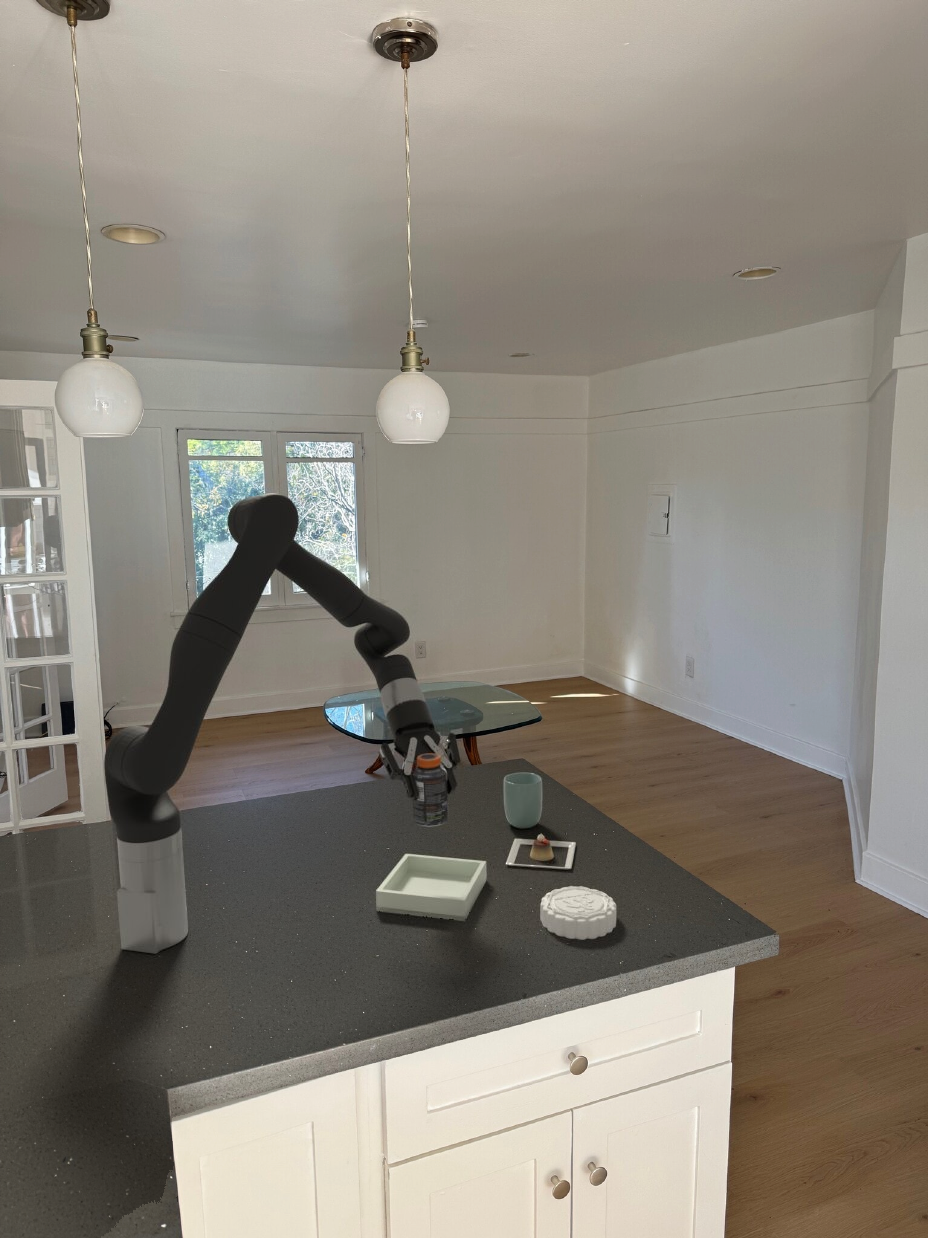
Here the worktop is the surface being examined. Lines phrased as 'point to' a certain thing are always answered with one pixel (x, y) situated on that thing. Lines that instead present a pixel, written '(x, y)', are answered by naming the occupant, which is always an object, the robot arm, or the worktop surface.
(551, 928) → the mooncake
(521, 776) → the cup
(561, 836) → the worktop surface
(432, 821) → the pill bottle
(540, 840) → the dessert
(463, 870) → the tray
